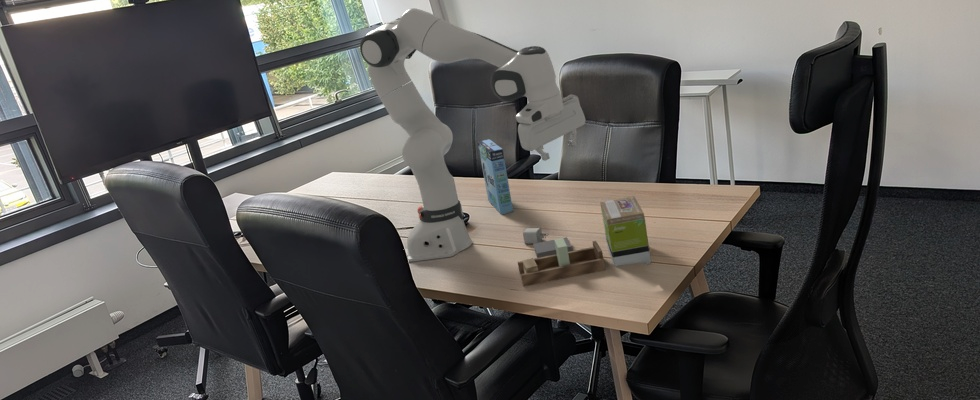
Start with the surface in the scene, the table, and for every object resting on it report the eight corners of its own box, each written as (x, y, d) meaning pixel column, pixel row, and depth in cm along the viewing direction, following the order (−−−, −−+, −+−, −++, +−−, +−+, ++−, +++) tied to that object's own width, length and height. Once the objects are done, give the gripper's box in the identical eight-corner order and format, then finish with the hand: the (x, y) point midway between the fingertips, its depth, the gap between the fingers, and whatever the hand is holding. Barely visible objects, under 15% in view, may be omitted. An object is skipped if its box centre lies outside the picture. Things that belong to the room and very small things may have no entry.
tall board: (562, 275, 197) (557, 247, 195) (558, 266, 203) (554, 239, 201) (571, 273, 197) (566, 246, 195) (567, 264, 203) (562, 237, 201)
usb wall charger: (529, 239, 231) (527, 227, 230) (550, 239, 228) (548, 227, 226) (524, 244, 227) (522, 232, 226) (545, 244, 224) (543, 232, 223)
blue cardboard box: (488, 201, 277) (476, 141, 271) (501, 197, 278) (490, 138, 271) (500, 215, 259) (488, 151, 252) (514, 211, 260) (503, 148, 253)
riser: (538, 263, 211) (536, 253, 210) (535, 253, 219) (533, 243, 218) (573, 256, 211) (571, 246, 210) (568, 246, 219) (566, 237, 218)
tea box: (606, 249, 211) (599, 200, 207) (642, 244, 210) (635, 194, 206) (614, 270, 197) (606, 218, 193) (652, 264, 196) (645, 211, 192)
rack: (523, 289, 196) (520, 268, 194) (520, 275, 205) (516, 255, 204) (606, 273, 196) (602, 252, 194) (598, 259, 205) (595, 239, 204)
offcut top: (527, 275, 197) (526, 268, 196) (523, 267, 202) (522, 260, 202) (538, 272, 197) (537, 265, 196) (534, 264, 203) (533, 258, 202)
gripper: (569, 91, 208) (581, 136, 213) (510, 118, 200) (524, 165, 204) (583, 92, 202) (595, 139, 207) (523, 121, 194) (537, 169, 199)
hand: (559, 152), depth 206 cm, fingers open, 8 cm apart
